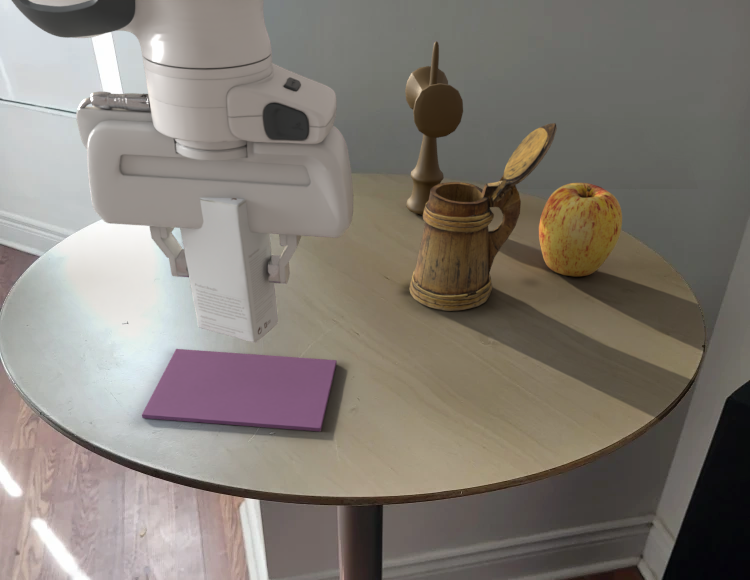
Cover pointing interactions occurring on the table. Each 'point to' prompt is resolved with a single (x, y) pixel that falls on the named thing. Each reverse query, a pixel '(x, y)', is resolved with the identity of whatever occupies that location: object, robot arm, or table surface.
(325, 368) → the purple rectangular board
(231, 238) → the cosmetic box
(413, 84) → the kendama
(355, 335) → the table surface
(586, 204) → the apple
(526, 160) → the wooden mug
